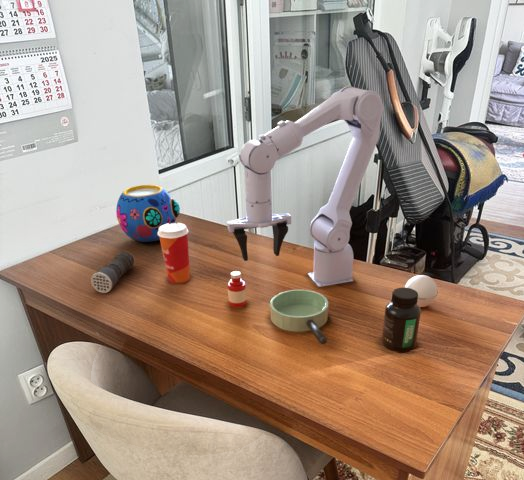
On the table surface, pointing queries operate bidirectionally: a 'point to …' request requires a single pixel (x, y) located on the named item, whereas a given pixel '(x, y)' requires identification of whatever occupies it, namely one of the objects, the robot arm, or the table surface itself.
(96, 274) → the flashlight
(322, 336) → the pan handle
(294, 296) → the pan
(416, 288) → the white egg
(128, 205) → the ceramic pot
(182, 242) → the paper cup
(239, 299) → the sauce bottle
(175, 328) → the table surface
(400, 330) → the supplement bottle
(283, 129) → the robot arm
